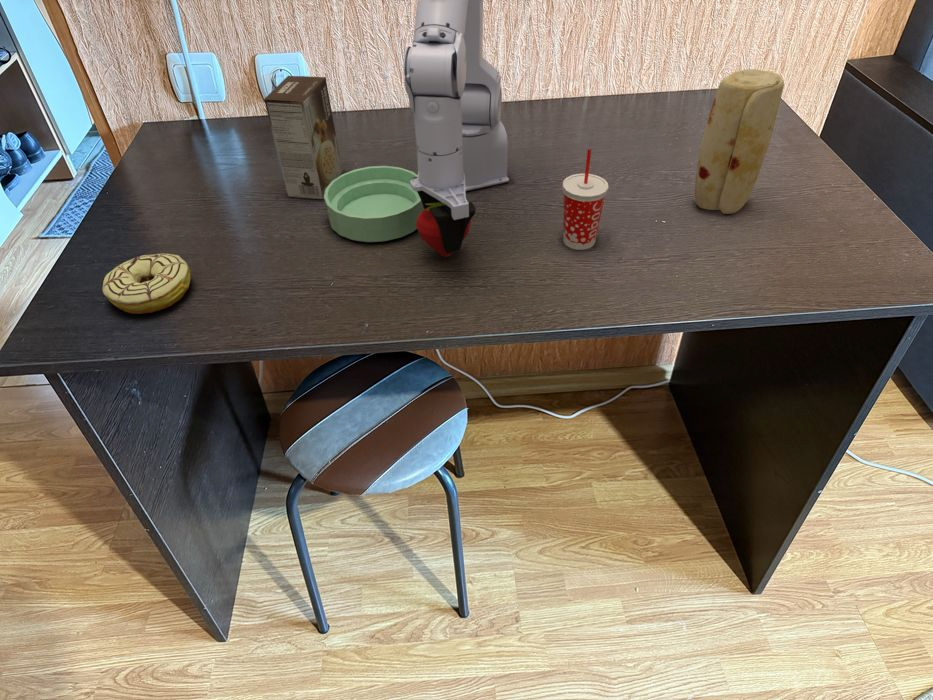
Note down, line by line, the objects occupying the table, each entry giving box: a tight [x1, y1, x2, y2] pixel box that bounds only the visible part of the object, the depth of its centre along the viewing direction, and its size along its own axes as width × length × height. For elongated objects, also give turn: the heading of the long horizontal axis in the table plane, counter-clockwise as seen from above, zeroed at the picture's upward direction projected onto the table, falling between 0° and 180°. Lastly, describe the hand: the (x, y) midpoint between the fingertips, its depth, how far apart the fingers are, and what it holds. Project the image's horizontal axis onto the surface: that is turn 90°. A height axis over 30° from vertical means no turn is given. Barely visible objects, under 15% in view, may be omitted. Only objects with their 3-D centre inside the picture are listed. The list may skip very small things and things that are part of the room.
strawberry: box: [416, 201, 472, 258], centre depth 88 cm, size 6×8×10 cm
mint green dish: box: [323, 165, 424, 243], centre depth 98 cm, size 15×15×4 cm
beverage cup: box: [562, 148, 609, 251], centre depth 89 cm, size 6×6×14 cm
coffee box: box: [263, 75, 343, 200], centre depth 101 cm, size 9×6×16 cm
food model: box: [694, 68, 785, 215], centre depth 92 cm, size 10×7×20 cm
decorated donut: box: [102, 253, 192, 315], centre depth 85 cm, size 10×11×4 cm
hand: (444, 237), depth 89 cm, fingers closed on strawberry, 6 cm apart
